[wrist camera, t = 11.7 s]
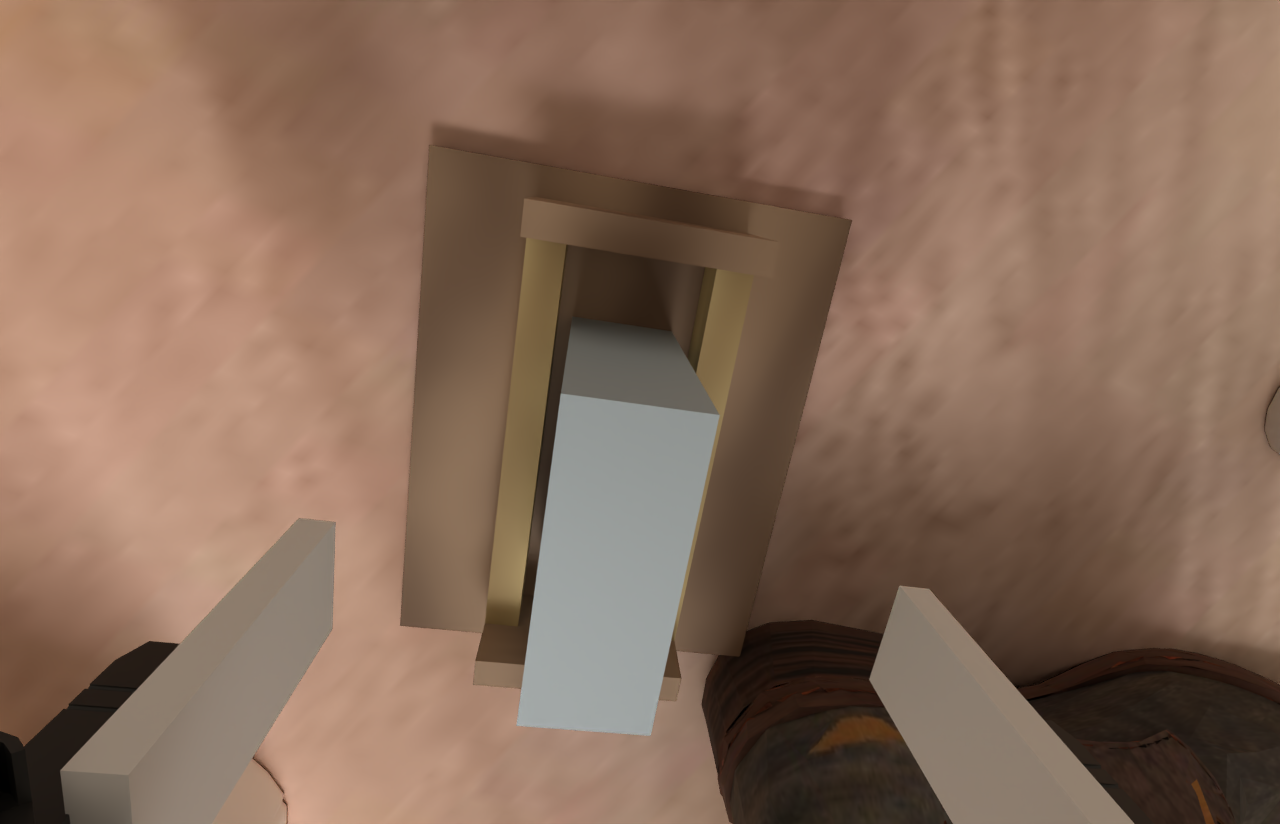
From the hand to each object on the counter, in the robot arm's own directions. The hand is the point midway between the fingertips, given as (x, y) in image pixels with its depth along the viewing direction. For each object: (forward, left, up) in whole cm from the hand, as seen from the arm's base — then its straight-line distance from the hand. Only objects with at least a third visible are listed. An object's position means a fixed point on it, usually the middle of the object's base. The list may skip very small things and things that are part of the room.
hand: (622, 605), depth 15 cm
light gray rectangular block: (0, 0, -10) cm, 10 cm away
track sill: (0, 0, -11) cm, 11 cm away
